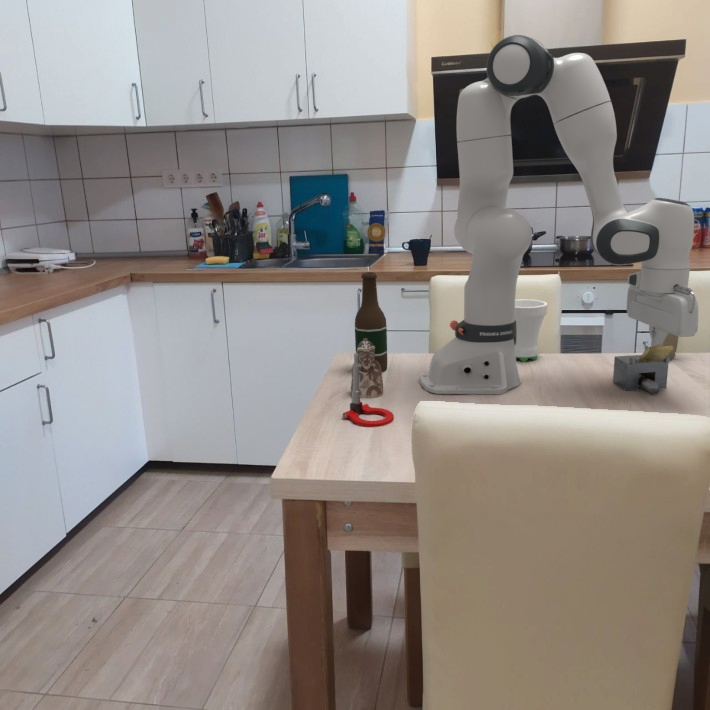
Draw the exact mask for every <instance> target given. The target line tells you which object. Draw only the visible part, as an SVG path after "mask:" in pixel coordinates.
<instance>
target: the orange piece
mask: <svg viewBox="0 0 710 710" xmlns="http://www.w3.org/2000/svg"><path fill="white" fill-rule="evenodd" d="M638 387H640V388H642V389H643V390H645V391H646V392H649V393H650V394H651V395H657V394H659V393H660V391H661V390H662V389H661V387H660V385H659V384H658V383H656V382H654V381H652V380H651V379H649V378H647V377H645V376H643V375H642V374H641V373H639V382H638Z"/></svg>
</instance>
